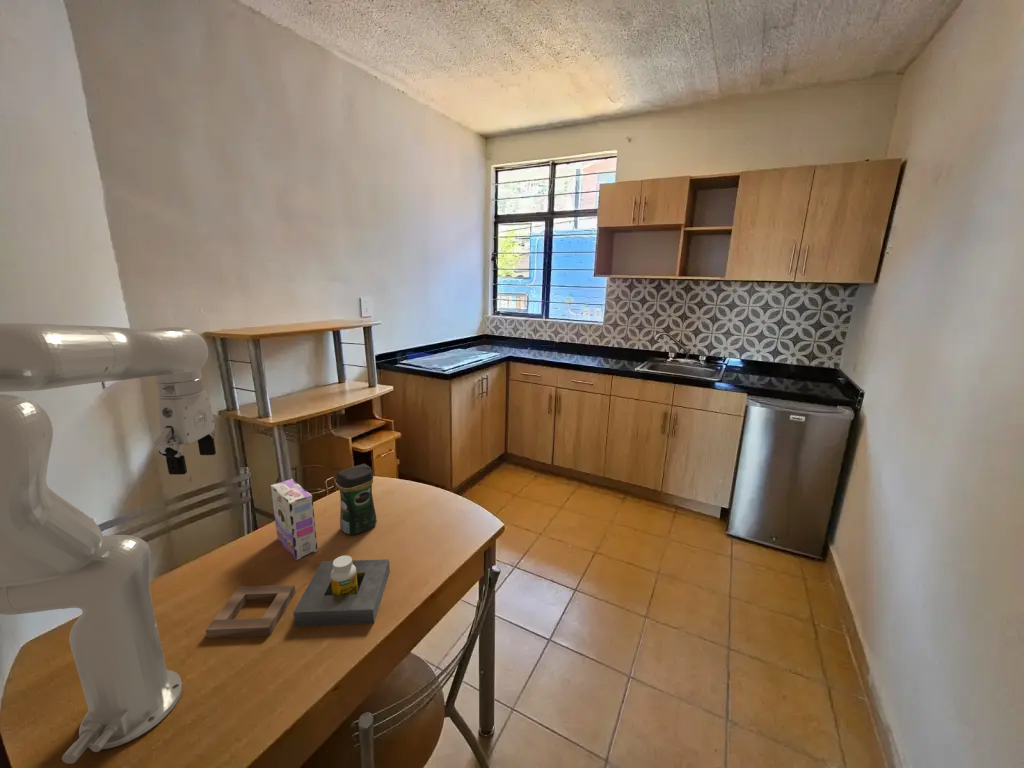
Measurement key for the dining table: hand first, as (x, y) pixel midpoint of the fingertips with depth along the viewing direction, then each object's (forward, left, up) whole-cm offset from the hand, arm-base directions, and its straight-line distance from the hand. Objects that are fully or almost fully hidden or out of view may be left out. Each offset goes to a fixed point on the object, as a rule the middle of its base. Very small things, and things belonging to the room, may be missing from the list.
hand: (193, 463), depth 90 cm
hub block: (-6, -32, -30) cm, 44 cm away
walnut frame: (-10, -14, -30) cm, 35 cm away
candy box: (+14, -13, -31) cm, 36 cm away
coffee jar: (+22, -27, -31) cm, 46 cm away
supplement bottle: (-6, -32, -31) cm, 45 cm away
